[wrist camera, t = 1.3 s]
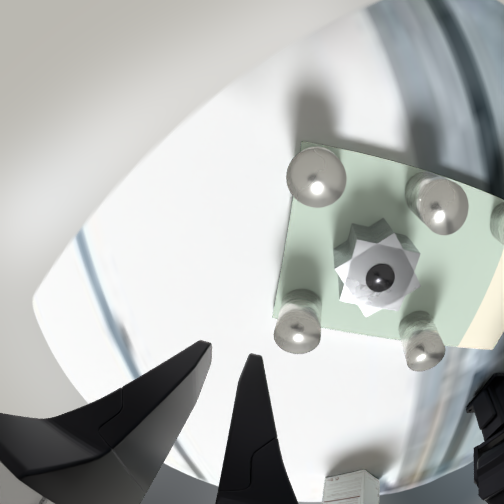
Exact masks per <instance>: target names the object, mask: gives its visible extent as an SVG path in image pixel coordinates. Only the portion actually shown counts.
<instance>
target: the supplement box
mask: <svg viewBox="0 0 504 504" xmlns="http://www.w3.org/2000/svg"><path fill="white" fill-rule="evenodd" d="M379 485H380V480H379V479H377V478H375V477H374V476H372V475H371V474H370V473H368V472H367V471H366V470H365V469H364V470H360V471H355V472H351V473H346V474H341V475H337V476H332V477H327V478H325V483H324V491H323V498H322V504H379Z"/></svg>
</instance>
